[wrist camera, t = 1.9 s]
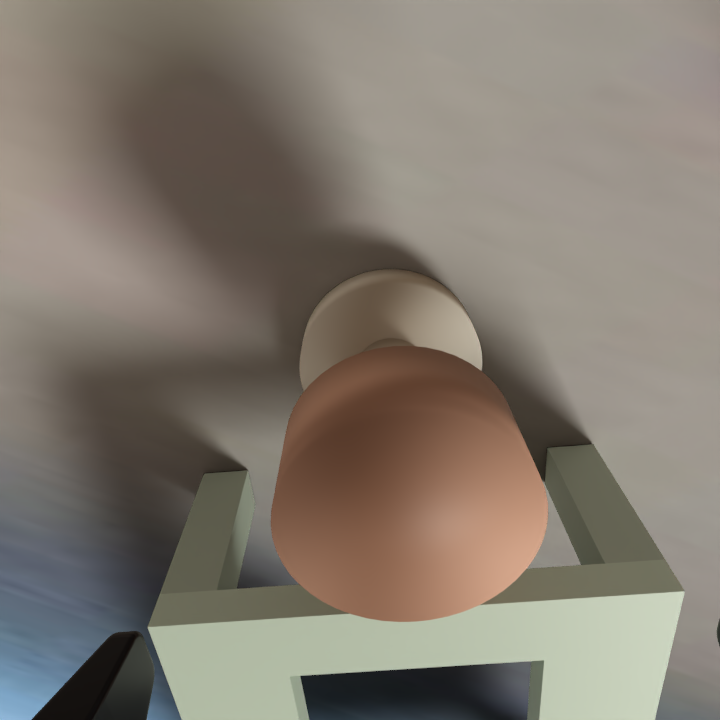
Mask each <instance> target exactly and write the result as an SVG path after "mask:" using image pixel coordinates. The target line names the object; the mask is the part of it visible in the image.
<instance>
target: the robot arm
mask: <svg viewBox="0 0 720 720" xmlns="http://www.w3.org/2000/svg"><path fill="white" fill-rule="evenodd" d="M717 638H718V642H719V646H720V620H719V623H718V627H717ZM153 682H154V665H153V661H152V659H151V656H150V653H149V651H148V648H147V646H146V643H145V640H144V638H143V636H142V634H141V633H139V632H138V631H131V632H118V633H114V634H113V635H111V636H110V637H109V638H108V639H107V640H106V641H105V642H104V643H103V644H102V645H101V646H100V647H99V648H98V649H97V650H96V651H95V652H94V653H93V655H92V656H91V657H90V658H89V659H88V660H87V661H86V662H85V663H84V664H83V665H82V666H81V667H80V668H79V670H78V671H77V672H76V673H75V674H74V675H73V676H72V677H71V678H70V679H69V680H68V681H67V682H66V683H65V684H64V686H63V687H62V688H61V689H60V690H59V691H58V692H57V693H56V694H55V695H54V696H53V697H52V698H51V699H50V700H49V702H48V703H47V704H46V705H45V706H44V707H43V708H42V709H41V710H40V711H39V712H38V713H37V714H36V715H35V716H34V718H33V719H32V720H146V719H147V714H148V709H149V703H150V698H151V693H152V688H153Z"/></svg>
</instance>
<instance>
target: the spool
mask: <svg viewBox="0 0 720 720" xmlns="http://www.w3.org/2000/svg"><path fill="white" fill-rule="evenodd" d="M299 370H300V379H301V384H302V388H303V390H304V392H303V394H302V395H301V396H300V398H299V399H298V401H297V403H296V405H295V406H294V408H293V411H292V413H291V416H290V418H289V421H288V425H287V430H286V434H285V440H284V445H283V451H282V456H281V461H280V467H279V472H278V477H277V483H276V488H275V494H274V499H273V504H272V510H271V530H272V538H273V541H274V544H275V548H276V551H277V553H278V555H279V557H280V559H281V561H282V563H283V565H284V566H285V567H286V569H287V570H288V572H289V573H290V575H291V576H292V577H293V578H294V579H295V580H296V581H297V582H298V583H299V584H300V585H301V586H302V587H303V588H304V589H306V590H307V591H308V592H309V593H310V594H312V595H313V596H315V597H316V598H318V599H319V600H321V601H322V602H324V603H326V604H328V605H330V606H332V607H334V608H336V609H339V610H341V611H344V612H347V613H349V614H352V615H356V616H360V617H364V618H368V619H374V620H380V621H391V622H417V621H426V620H433V619H438V618H443V617H448V616H451V615H454V614H458V613H461V612H464V611H466V610H469V609H471V608H474V607H476V606H478V605H480V604H482V603H484V602H486V601H488V600H490V599H492V598H493V597H495V596H496V595H498V594H499V593H501V592H502V591H504V590H505V589H506V588H507V587H509V586H510V585H511V584H512V583H513V582H514V581H516V580H517V579H518V578H519V576H520V575H521V574H522V573H523V572H524V571H525V570H526V569H527V567H528V566H529V565H530V563H531V562H532V560H533V559H534V558H535V556H536V554H537V552H538V550H539V548H540V546H541V544H542V541H543V538H544V535H545V532H546V526H547V520H548V502H547V496H546V491H545V488H544V485H543V482H542V480H541V477H540V475H539V472H538V470H537V468H536V466H535V463H534V461H533V459H532V457H531V454H530V452H529V450H528V448H527V445H526V443H525V441H524V439H523V436H522V434H521V432H520V430H519V427H518V425H517V423H516V421H515V419H514V416H513V414H512V412H511V410H510V407H509V405H508V403H507V401H506V399H505V398H504V396H503V394H502V393H501V391H500V390H499V389H498V387H497V386H496V385H495V384H494V382H493V381H492V380H491V379H490V378H489V377H488V376H487V375H485V374H484V373H483V372H482V351H481V346H480V342H479V339H478V336H477V334H476V331H475V329H474V327H473V324H472V322H471V320H470V318H469V316H468V314H467V312H466V310H465V308H464V306H463V305H462V304H461V302H460V301H459V300H458V298H457V297H456V296H455V295H454V294H453V293H452V292H451V291H450V290H449V289H447V288H446V287H445V286H443V285H442V284H441V283H439V282H437V281H435V280H434V279H432V278H430V277H428V276H425V275H422V274H420V273H416V272H412V271H408V270H399V269H381V270H375V271H369V272H366V273H362V274H359V275H356V276H354V277H352V278H349V279H347V280H346V281H344V282H342V283H341V284H339V285H337V286H336V287H335V288H334V289H332V290H331V291H330V292H329V293H328V294H327V295H326V296H325V297H324V298H323V299H322V300H321V301H320V302H319V304H318V305H317V306H316V308H315V309H314V311H313V313H312V314H311V316H310V318H309V321H308V323H307V326H306V329H305V333H304V338H303V343H302V348H301V354H300V364H299Z"/></svg>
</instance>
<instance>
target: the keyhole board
mask: <svg viewBox="0 0 720 720" xmlns="http://www.w3.org/2000/svg"><path fill="white" fill-rule="evenodd" d="M545 485H546V487H547V490H548V492H549V494H550V496H551V498H552V501H553V503H554V505H555V507H556V510H557V512H558V514H559V516H560V518H561V521H562V523H563V525H564V527H565V530H566V532H567V534H568V536H569V538H570V541H571V543H572V545H573V547H574V550H575V552H576V554H577V556H578V558H579V561H580V563H581V565H577V566H562V567H547V568H533V569H526V570H525V571H524V572H523V573H522V574H521V575H520V576H519V578H518V579H517V580H516V581H514V582H513V583H512V584H511V585H510V586H509V587H507V588H506V589H505V590H504V591H502V592H501V593H499V594H498V595H496V596H495V597H493V598H492V599H490V600H488V601H486V602H484V603H482V604H480V605H478V606H476V607H474V608H471V609H469V610H466V611H464V612H461V613H458V614H454V615H451V616H448V617H443V618H438V619H433V620H426V621H417V622H391V621H380V620H374V619H368V618H364V617H360V616H356V615H352V614H349V613H347V612H344V611H341V610H339V609H336V608H334V607H332V606H330V605H328V604H326V603H324V602H322V601H321V600H319V599H318V598H316V597H315V596H313V595H312V594H310V593H309V592H308V591H307V590H306V589H304V588H303V587H302V586H301V585H286V586H271V587H256V588H242V589H237V585H238V580H239V576H240V572H241V567H242V563H243V558H244V554H245V549H246V545H247V540H248V536H249V531H250V527H251V522H252V518H253V514H254V509H255V501H254V496H253V491H252V487H251V482H250V478H249V473H248V470H246V471H233V472H220V473H206V474H204V475H203V477H202V480H201V483H200V486H199V488H198V491H197V494H196V497H195V499H194V502H193V505H192V507H191V510H190V513H189V516H188V518H187V521H186V524H185V527H184V529H183V532H182V535H181V537H180V540H179V543H178V546H177V548H176V551H175V554H174V557H173V559H172V562H171V565H170V567H169V570H168V573H167V576H166V578H165V581H164V584H163V587H162V589H161V592H160V595H159V598H158V600H157V603H156V606H155V608H154V611H153V614H152V617H151V619H150V622H149V625H148V630H149V632H150V635H151V638H152V640H153V643H154V646H155V649H156V651H157V654H158V657H159V659H160V662H161V665H162V667H163V670H164V673H165V676H166V678H167V681H168V684H169V686H170V689H171V692H172V694H173V697H174V700H175V703H176V705H177V708H178V711H179V713H180V716H181V719H182V720H309V716H308V711H307V706H306V702H305V697H304V692H303V687H302V682H301V678H300V676H304V675H320V674H336V673H352V672H367V671H383V670H399V669H415V668H430V667H446V666H462V665H477V664H493V663H509V662H525V661H531V672H530V686H529V700H528V715H527V720H655V716H656V712H657V708H658V703H659V699H660V695H661V691H662V686H663V682H664V678H665V673H666V669H667V665H668V661H669V656H670V652H671V648H672V644H673V639H674V635H675V631H676V626H677V622H678V618H679V614H680V609H681V605H682V601H683V597H684V592H685V591H684V589H683V588H682V586H681V584H680V583H679V581H678V580H677V578H676V576H675V575H674V573H673V572H672V570H671V568H670V567H669V565H668V564H667V562H666V560H665V559H664V557H663V556H662V554H661V552H660V551H659V549H658V548H657V546H656V544H655V543H654V541H653V540H652V538H651V536H650V535H649V533H648V531H647V530H646V528H645V527H644V525H643V523H642V522H641V520H640V519H639V517H638V515H637V514H636V512H635V511H634V509H633V507H632V506H631V504H630V503H629V501H628V499H627V498H626V496H625V495H624V493H623V491H622V490H621V488H620V487H619V485H618V483H617V482H616V480H615V479H614V477H613V475H612V474H611V472H610V470H609V469H608V467H607V466H606V464H605V462H604V461H603V459H602V458H601V456H600V454H599V453H598V451H597V450H596V448H595V446H594V445H593V444H591V445H578V446H565V447H552V448H547V461H546V475H545Z"/></svg>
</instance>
